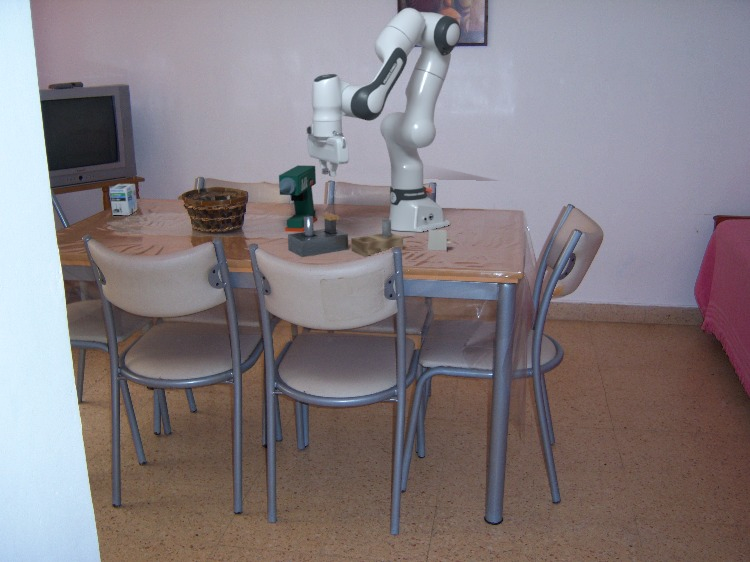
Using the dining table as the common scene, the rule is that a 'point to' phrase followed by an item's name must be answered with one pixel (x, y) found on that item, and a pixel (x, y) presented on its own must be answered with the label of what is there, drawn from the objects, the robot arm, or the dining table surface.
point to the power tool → (299, 194)
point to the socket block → (317, 243)
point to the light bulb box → (123, 199)
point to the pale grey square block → (438, 240)
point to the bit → (308, 226)
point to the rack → (376, 241)
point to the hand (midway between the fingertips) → (328, 175)
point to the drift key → (330, 223)
